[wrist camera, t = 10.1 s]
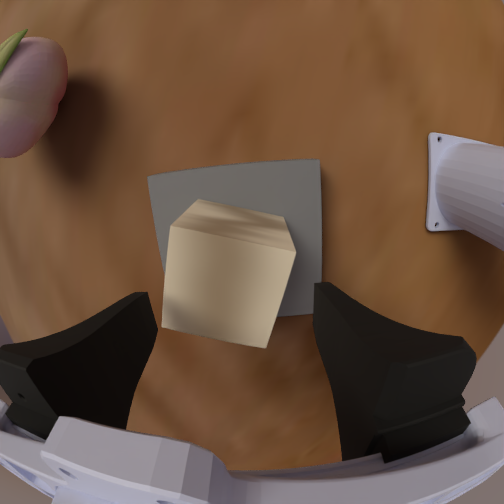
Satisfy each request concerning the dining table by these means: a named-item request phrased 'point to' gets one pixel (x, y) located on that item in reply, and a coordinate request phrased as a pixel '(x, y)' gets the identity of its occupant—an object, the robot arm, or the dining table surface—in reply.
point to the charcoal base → (258, 199)
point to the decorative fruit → (29, 90)
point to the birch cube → (226, 273)
